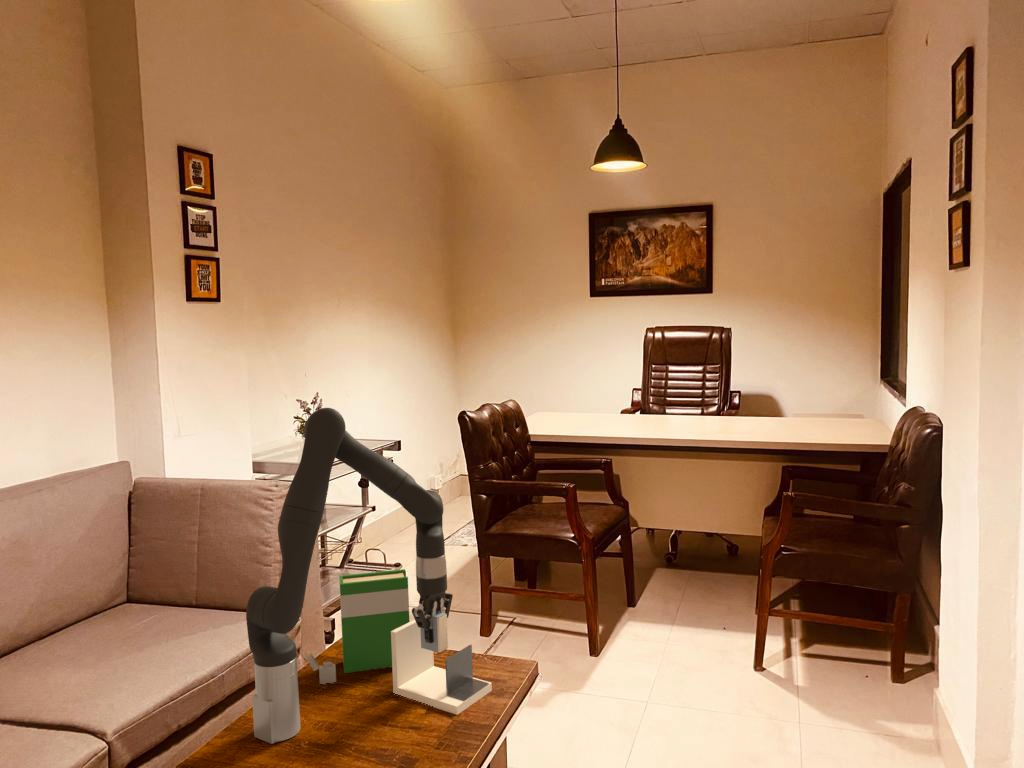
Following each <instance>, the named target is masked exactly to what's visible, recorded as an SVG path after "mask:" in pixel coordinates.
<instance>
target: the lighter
mask: <svg viewBox="0 0 1024 768" xmlns="http://www.w3.org/2000/svg"><path fill="white" fill-rule="evenodd" d="M305 657H306V658H305V659H306V660H307V661H308V663H309V666H310V667H311V668H312V671H314V672H316V671H317V670H318V673H319V674H318V676H319V677H318V679H319V685H320V684H323V685H327V684H326V683H330V684H335V683H334V682H336V683H337V668H336V663H333V661H323V664H322V665H320V664H319V663H318V662H317V661H316V658H315V656H313V654H312V652H310V653H308V654H307V655H306V656H305Z"/></svg>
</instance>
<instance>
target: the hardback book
mask: <svg viewBox="0 0 1024 768" xmlns="http://www.w3.org/2000/svg"><path fill="white" fill-rule="evenodd" d="M338 579H339V594H340V595H339V598H340V619H341V620H340V621H341V640H342V661H343V663H342V664H343V674H348V673H357V671H358V672H364V671H363V670H366V671H370V670H369V669H374V670H377V669H376V668H382V667H389V668H392V667H391V666H392V646H391V631H393V630H395V629H397V628H399V627H401V626H403V625H405V624H407V623H409V622H411V620H410V604H409V603H410V598H409V577H408V576H406V569H405V568H403V569H395V570H394V569H392V570H382V571H374V572H373V571H372V572H365V573H364V572H362V573H353V574H342V575H339V578H338ZM382 669H383V668H382Z"/></svg>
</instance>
